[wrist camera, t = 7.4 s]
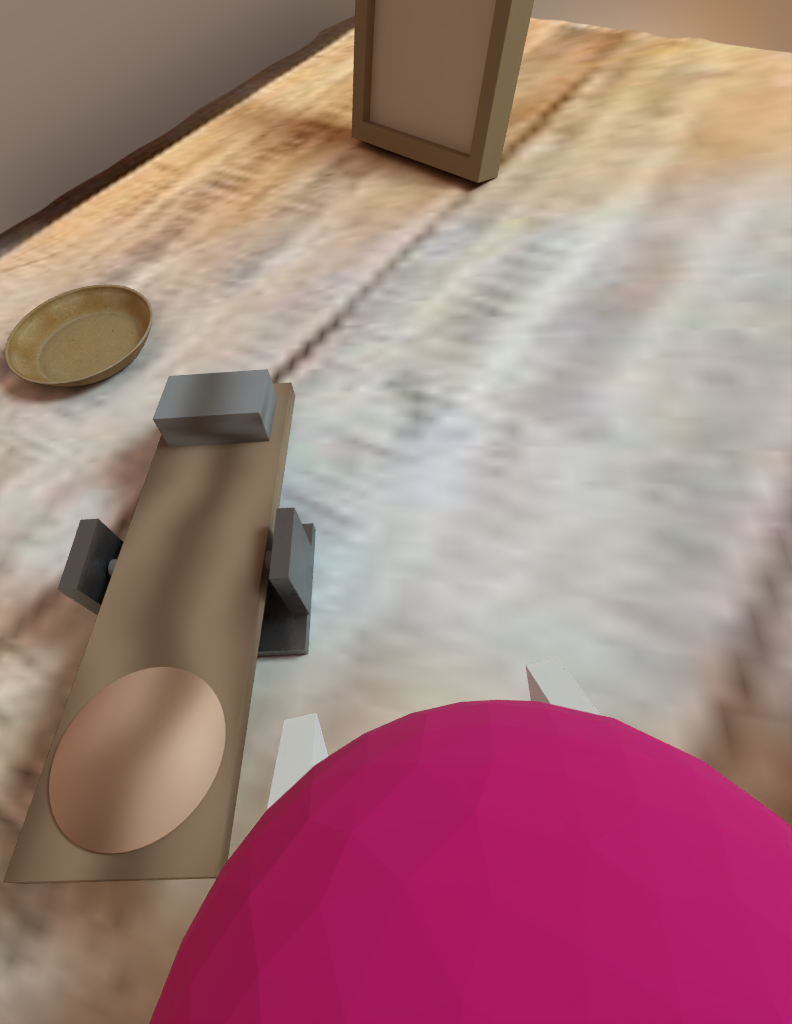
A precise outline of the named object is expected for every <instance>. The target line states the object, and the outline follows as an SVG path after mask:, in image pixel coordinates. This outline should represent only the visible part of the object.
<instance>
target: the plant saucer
mask: <svg viewBox="0 0 792 1024" xmlns="http://www.w3.org/2000/svg"><path fill="white" fill-rule="evenodd" d="M151 323H152V309H151V306H150V304H149V302H148V300H147V299H146V298H145V297H144V296H143V295H142V294H140V293H139V292H137V291H135V290H134V289H131V288H128V287H125V286H119V285H93V286H87V287H82V288H77V289H74V290H71V291H68V292H65V293H62V294H60V295H58V296H55V297H53V298H51V299H49V300H48V301H46V302H44V303H42V304H40V305H39V306H37V307H36V308H35V309H33V310H32V311H31V312H30V313H28V314H27V315H26V316H25V317H24V318H23V319H22V320H21V321H20V322H19V323H18V324H17V325H16V327H15V328H14V330H13V331H12V333H11V334H10V337H9V338H8V340H7V343H6V348H5V358H6V361H7V364H8V366H9V368H10V369H11V370H12V372H14V373H15V374H16V375H18V376H19V377H21V378H23V379H25V380H27V381H30V382H35V383H39V384H44V385H51V386H82V385H88V384H92V383H96V382H99V381H101V380H104V379H106V378H109V377H111V376H112V375H114V374H116V373H118V372H119V371H121V370H122V369H124V368H125V367H126V366H127V365H129V364H130V363H131V362H132V361H133V360H134V359H135V358H136V356H137V355H138V354H139V352H140V351H141V349H142V347H143V346H144V344H145V342H146V340H147V338H148V335H149V332H150V328H151Z"/></svg>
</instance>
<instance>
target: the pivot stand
mask: <svg viewBox="0 0 792 1024" xmlns="http://www.w3.org/2000/svg"><path fill="white" fill-rule="evenodd" d="M123 543H124V542H123V541H122V540H121V539H120V538H118V537H117V536H116V535H115V534H114V533H113V532H112V531H111V530H110V529H109V528H108V527H107V526H105V525H104V524H103V523H102V522H101V521H100V520H99V519H87V520H80V523H79V526H78V529H77V533H76V536H75V539H74V542H73V545H72V548H71V551H70V554H69V557H68V560H67V563H66V566H65V569H64V572H63V575H62V578H61V581H60V584H59V587H58V590H59V591H60V592H62V593H64V594H65V595H67V596H68V597H70V598H71V599H73V600H75V601H76V602H78V603H79V604H81V605H82V606H84V607H86V608H87V609H89V610H90V611H92V612H93V613H95V614H97V615H98V613H99V610H100V608H101V605H102V602H103V599H104V596H105V593H106V591H107V588H108V585H109V582H110V579H111V575H110V574H109V571H108V566H109V562H110V561H111V560H112V559H118V557H119V554H120V551H121V548H122V545H123ZM314 546H315V527H314V525H313V523H312V524H301V521H300V519H299V517H298V514H297V512H296V510H295V508H280V509H276V517H275V527H274V536H273V545H272V555H271V564H270V572H269V579H268V586H267V593H266V599H265V606H264V613H263V620H262V627H261V634H260V641H259V648H258V654H257V656H273V655H295V654H308V645H309V629H310V612H311V596H312V579H313V563H314Z"/></svg>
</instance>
